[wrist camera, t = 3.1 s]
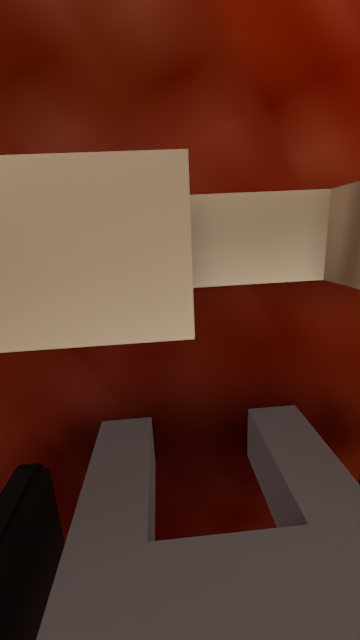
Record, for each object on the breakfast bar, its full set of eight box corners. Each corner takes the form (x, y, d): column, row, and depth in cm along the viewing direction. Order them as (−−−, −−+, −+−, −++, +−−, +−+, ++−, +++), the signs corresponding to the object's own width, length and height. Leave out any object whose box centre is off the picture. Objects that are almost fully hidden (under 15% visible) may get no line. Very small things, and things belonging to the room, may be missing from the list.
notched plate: (291, 450, 11) (567, 890, 4) (108, 467, 11) (-5, 999, 3) (294, 405, 11) (624, 810, 3) (101, 421, 10) (-52, 930, 3)
